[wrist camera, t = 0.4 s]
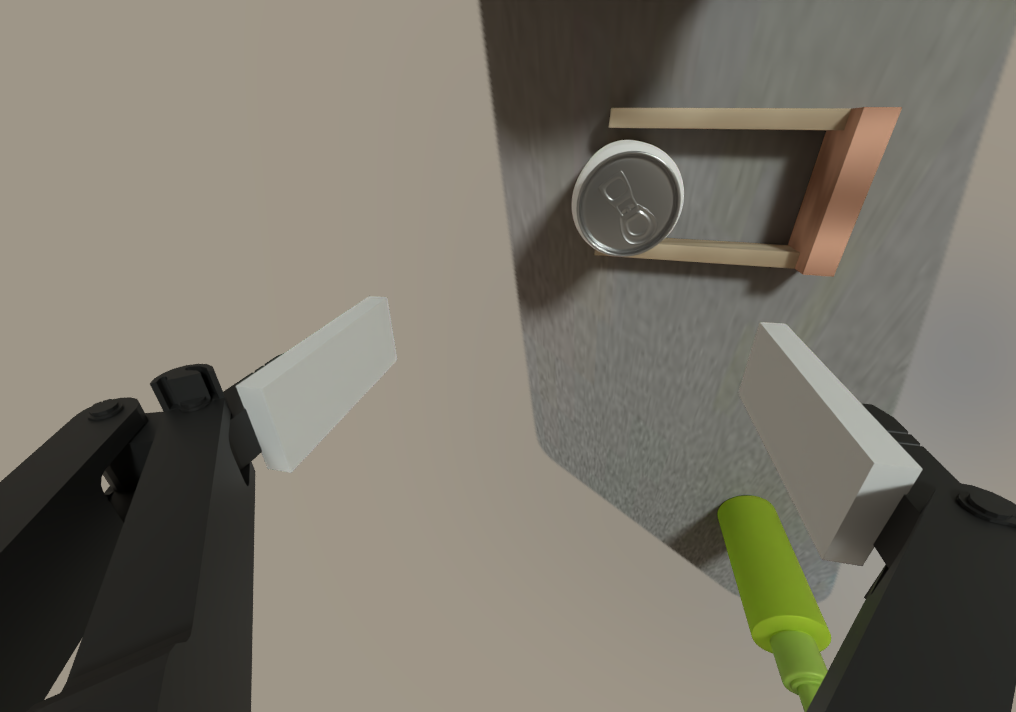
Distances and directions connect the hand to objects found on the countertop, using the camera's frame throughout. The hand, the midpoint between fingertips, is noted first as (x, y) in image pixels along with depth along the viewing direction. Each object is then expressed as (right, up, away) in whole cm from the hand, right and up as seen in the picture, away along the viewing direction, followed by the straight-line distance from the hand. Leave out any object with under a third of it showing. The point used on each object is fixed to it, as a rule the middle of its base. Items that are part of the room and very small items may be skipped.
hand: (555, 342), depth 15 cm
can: (+8, +13, +18) cm, 24 cm away
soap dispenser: (+25, -18, +31) cm, 44 cm away
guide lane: (+14, +13, +17) cm, 25 cm away
